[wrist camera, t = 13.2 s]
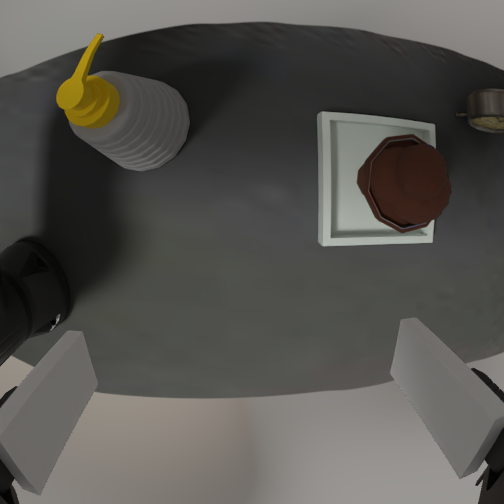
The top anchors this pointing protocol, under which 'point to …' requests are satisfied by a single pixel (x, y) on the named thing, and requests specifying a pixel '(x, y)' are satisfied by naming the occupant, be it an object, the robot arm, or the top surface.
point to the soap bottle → (124, 114)
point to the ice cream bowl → (405, 183)
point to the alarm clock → (485, 110)
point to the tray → (345, 178)
